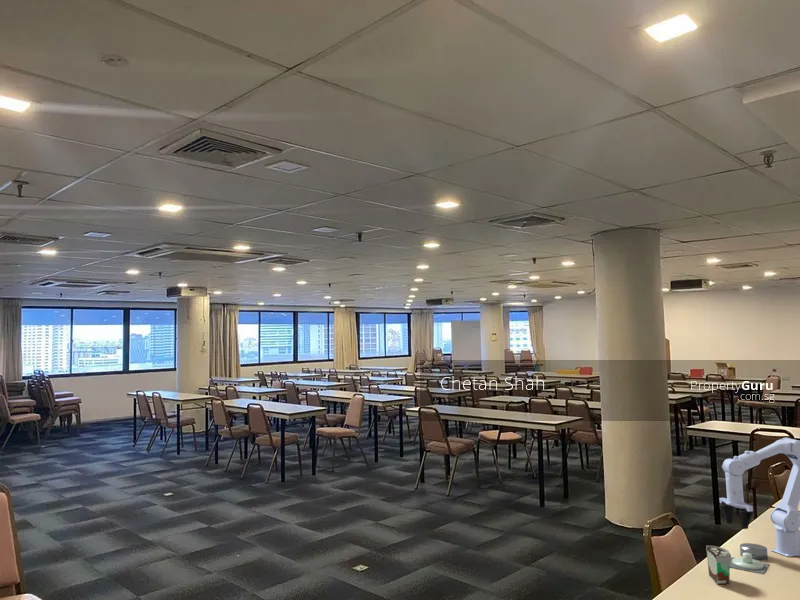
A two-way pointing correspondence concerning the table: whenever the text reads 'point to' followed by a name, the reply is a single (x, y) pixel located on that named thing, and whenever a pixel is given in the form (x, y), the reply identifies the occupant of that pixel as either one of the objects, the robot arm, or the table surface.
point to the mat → (750, 570)
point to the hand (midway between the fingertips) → (737, 526)
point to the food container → (718, 564)
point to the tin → (754, 551)
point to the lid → (747, 562)
